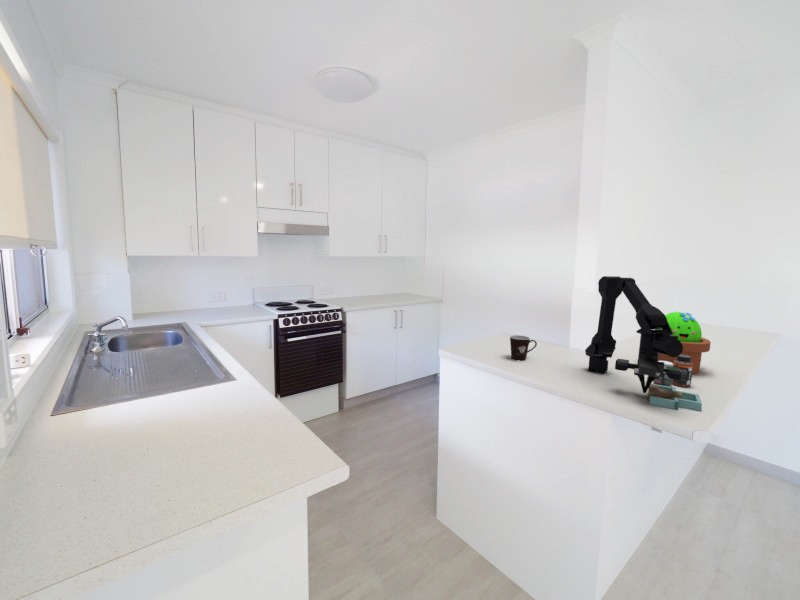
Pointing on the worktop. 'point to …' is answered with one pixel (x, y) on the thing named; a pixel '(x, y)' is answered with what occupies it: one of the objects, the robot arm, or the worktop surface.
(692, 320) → the potted cactus
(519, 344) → the coffee mug
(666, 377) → the pill bottle
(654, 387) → the t block
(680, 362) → the supplement bottle
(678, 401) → the teal angular frame
